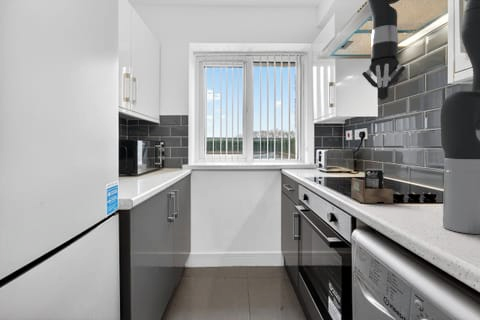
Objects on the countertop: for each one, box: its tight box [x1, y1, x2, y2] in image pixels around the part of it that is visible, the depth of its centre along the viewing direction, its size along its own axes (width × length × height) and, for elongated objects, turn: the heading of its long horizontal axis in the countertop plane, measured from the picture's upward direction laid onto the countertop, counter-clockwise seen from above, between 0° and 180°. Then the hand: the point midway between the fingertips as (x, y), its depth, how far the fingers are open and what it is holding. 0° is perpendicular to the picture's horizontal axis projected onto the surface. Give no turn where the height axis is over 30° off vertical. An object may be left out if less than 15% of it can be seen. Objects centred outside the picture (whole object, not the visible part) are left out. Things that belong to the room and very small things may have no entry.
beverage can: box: [364, 168, 385, 189], centre depth 116 cm, size 7×7×12 cm
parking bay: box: [350, 177, 394, 204], centre depth 116 cm, size 11×12×8 cm
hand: (383, 99), depth 96 cm, fingers closed
